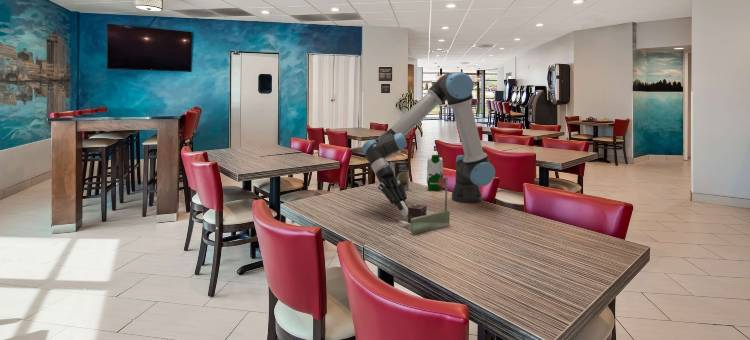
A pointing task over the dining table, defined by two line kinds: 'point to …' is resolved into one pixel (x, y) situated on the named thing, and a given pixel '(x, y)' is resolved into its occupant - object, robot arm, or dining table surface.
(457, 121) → the robot arm
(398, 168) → the coffee box
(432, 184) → the milk carton
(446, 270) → the dining table surface
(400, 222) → the green bar with posts
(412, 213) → the box
